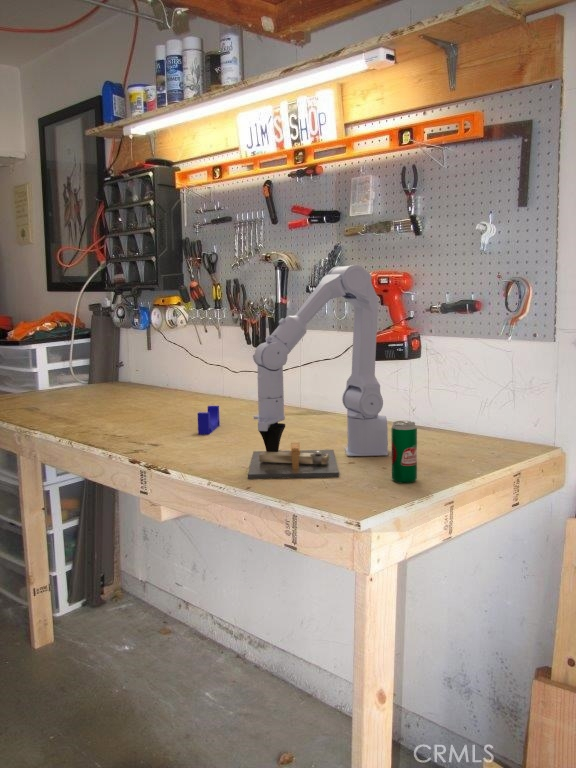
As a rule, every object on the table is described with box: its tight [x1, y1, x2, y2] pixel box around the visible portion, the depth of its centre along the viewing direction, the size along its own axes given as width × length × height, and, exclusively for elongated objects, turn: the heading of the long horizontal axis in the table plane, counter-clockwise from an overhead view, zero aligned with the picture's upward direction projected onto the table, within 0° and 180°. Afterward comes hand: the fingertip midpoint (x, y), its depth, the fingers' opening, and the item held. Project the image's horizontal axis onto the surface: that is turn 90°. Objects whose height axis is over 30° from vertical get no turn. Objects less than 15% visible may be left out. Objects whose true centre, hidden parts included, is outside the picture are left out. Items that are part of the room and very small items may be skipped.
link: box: [259, 450, 329, 464], centre depth 151 cm, size 15×4×2 cm, turn 76°
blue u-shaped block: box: [197, 405, 221, 435], centre depth 193 cm, size 12×4×6 cm, turn 172°
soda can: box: [391, 420, 418, 484], centre depth 138 cm, size 5×5×12 cm
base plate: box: [247, 442, 340, 480], centre depth 152 cm, size 19×20×6 cm
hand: (272, 456), depth 154 cm, fingers closed
